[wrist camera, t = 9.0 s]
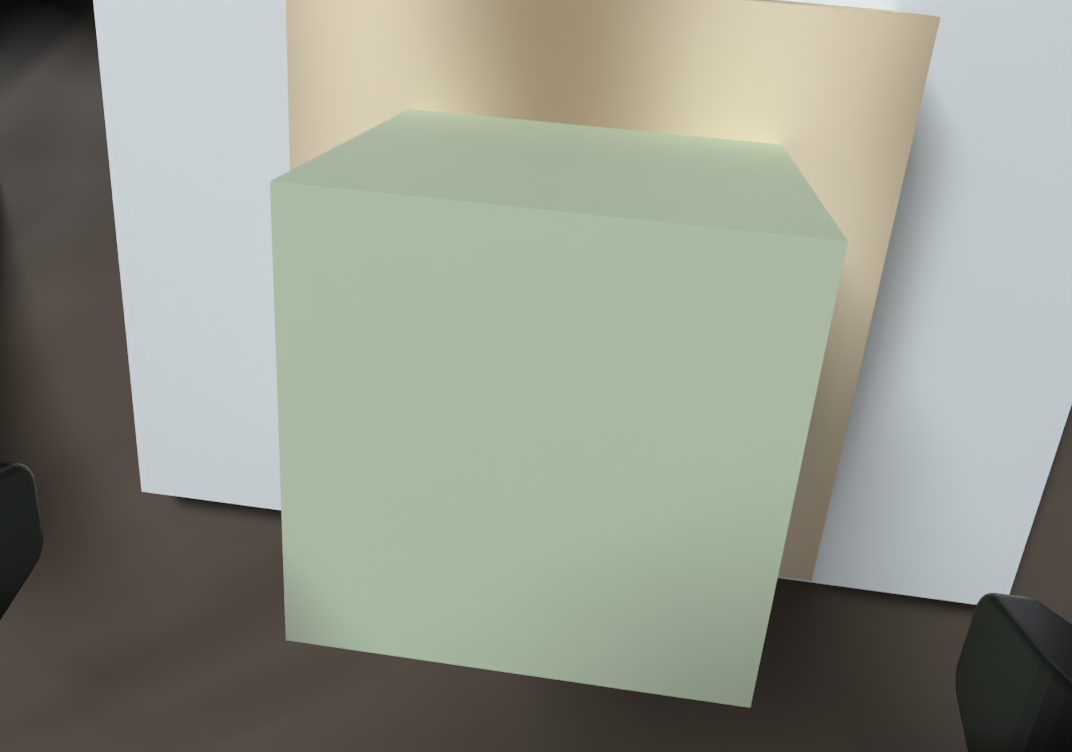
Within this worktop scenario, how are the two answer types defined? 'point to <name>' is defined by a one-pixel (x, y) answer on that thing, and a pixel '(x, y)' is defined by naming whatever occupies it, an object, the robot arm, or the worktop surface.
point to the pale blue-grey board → (893, 339)
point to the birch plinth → (656, 117)
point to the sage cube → (546, 396)
